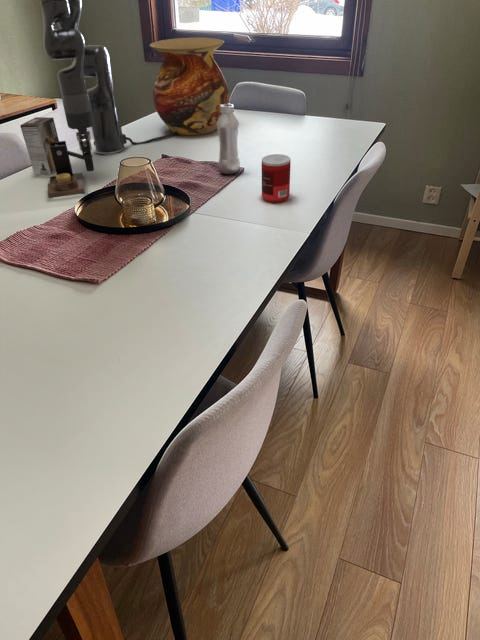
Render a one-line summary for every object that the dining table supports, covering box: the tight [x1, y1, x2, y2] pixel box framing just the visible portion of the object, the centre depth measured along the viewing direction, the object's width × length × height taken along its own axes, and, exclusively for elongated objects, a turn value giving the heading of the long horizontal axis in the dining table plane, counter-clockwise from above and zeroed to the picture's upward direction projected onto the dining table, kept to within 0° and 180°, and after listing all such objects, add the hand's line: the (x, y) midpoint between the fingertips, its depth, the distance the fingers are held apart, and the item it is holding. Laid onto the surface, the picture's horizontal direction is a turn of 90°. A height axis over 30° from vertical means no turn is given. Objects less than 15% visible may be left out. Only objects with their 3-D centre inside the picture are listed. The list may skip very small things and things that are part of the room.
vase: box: [149, 37, 230, 136], centre depth 188 cm, size 29×29×30 cm
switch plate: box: [47, 176, 86, 199], centre depth 145 cm, size 10×8×4 cm
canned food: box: [261, 153, 292, 204], centre depth 136 cm, size 8×8×11 cm
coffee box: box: [20, 116, 60, 176], centre depth 157 cm, size 9×6×16 cm
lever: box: [55, 144, 85, 161], centre depth 149 cm, size 11×5×2 cm, turn 107°
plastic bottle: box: [216, 103, 241, 175], centre depth 150 cm, size 6×7×20 cm
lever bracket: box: [49, 140, 84, 184], centre depth 150 cm, size 10×8×12 cm
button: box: [55, 173, 71, 183], centre depth 144 cm, size 4×4×2 cm
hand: (90, 167), depth 153 cm, fingers closed on lever, 5 cm apart
